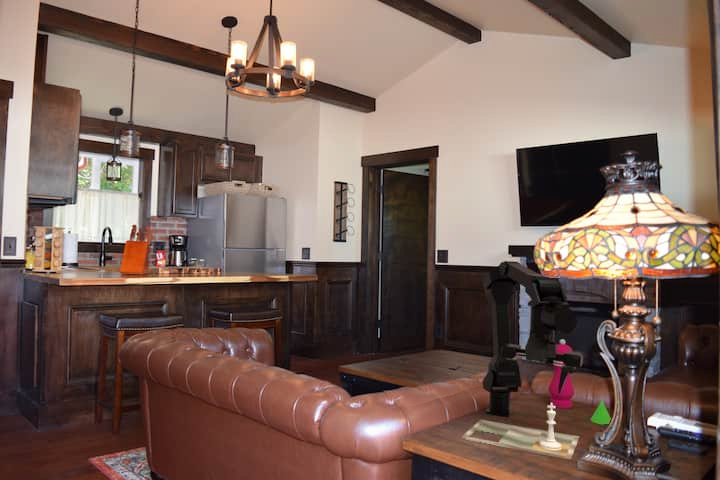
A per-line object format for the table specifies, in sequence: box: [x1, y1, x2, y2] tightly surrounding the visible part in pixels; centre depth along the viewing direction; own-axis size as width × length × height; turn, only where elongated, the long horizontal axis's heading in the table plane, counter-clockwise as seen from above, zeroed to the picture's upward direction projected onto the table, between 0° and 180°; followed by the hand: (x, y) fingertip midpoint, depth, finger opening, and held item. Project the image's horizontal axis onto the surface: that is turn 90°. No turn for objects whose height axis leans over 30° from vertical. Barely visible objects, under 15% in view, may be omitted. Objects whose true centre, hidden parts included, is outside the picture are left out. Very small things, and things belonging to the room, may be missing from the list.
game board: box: [461, 419, 580, 460], centre depth 133 cm, size 17×24×1 cm
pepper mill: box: [548, 338, 575, 409], centre depth 166 cm, size 7×7×20 cm
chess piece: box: [539, 402, 562, 451], centre depth 127 cm, size 5×5×10 cm
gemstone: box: [590, 400, 612, 425], centre depth 151 cm, size 6×6×6 cm
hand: (539, 390), depth 135 cm, fingers open, 9 cm apart
